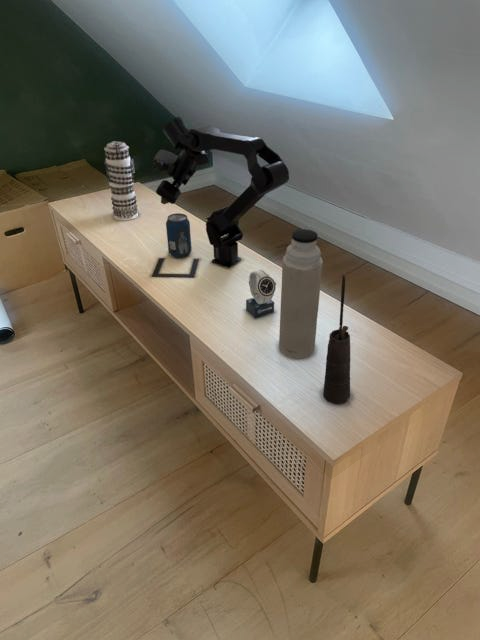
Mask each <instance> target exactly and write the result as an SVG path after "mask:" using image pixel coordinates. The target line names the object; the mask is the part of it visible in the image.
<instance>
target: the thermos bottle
mask: <svg viewBox="0 0 480 640" xmlns="http://www.w3.org/2000/svg"><path fill="white" fill-rule="evenodd" d="M291 238H292V239H291V244H289V245H288V246H287V248H286V251H285V255H284V256H283V257H282V266H281V267H282V270H281V291H280V314H279V315H280V316H279V337H278V350H279V351H280V353H281V354H282V355H283V356H285V357H287V358H289V359H293V360H294V359H295V360H302V359H307V358H309V357H311V356H312V355H313V354H314V352H315V348H316V337H317V336H316V335H317V325H318V315H319V305H320V297H321V296H320V294H321V284H322V274H323V273H322V272H323V264H324V263H323V262H324V260H323V258H322V257H321V255H322V252H321V249H320V248H319V246H317V240H318V233H317V232H316V231H315V230H312V229H307V228H305V229H303V228H302V229H296V230H294V231H293V232H292V233H291Z"/></svg>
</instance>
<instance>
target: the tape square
mask: <svg viewBox="0 0 480 640" xmlns="http://www.w3.org/2000/svg"><path fill="white" fill-rule="evenodd" d="M164 259H165V258H164V257H158V259H157V262H156V264H155V266H154V269H153V272H152V275H151V277H152V278H195V276H196V272H197V268H198V265H199V260H200V259H199V258H193V261H192V264H191V268H190V271H189V273H160V270H161V268H162V265H163V263H164Z"/></svg>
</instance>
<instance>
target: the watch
mask: <svg viewBox="0 0 480 640" xmlns="http://www.w3.org/2000/svg"><path fill="white" fill-rule="evenodd" d="M248 286H249V292H250V294H251V296H252V297H250V298H246V300H245V312H247V313H248V314H249V315H251V317H253V319H258V318H261V317H264V316H267V315H270V314H273V313H275V301H274V300H272V299H273V297H274V295H275V292H276V289H277V288H276V287H277V282H276V281H275V280H274V278H272V277H271V275H270V274H269V273H267V272H266V271H264V269H258V270H254V271H251V272H250V273H249V276H248Z"/></svg>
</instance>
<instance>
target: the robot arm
mask: <svg viewBox="0 0 480 640" xmlns="http://www.w3.org/2000/svg"><path fill="white" fill-rule="evenodd" d="M162 132H163V133H164V134H165V136H166V137H167V139H168V140H169V142H170V143H171V144H172V146H173V148H174V149H176V150H177V149H179V150H181V152H180V153H179V154H178V155H176V154H175V153H173V152H171V151H168V150H165V149H160V150H158V152H157V153H156V154H155V155H154V159H153V162H152V165H153V169H154V170H156V171H158V172H161V173H164V171H165V172H167V173H166V175H167V176H169V177H171V178H172V179H173V181H172V182H170V181H168V179H165V180H161V182H160V183H159V185H158V186H157V188H156V189H155V193H156V195H157V196H159V197H160V203H161V204H162V205H166V204H171V205H174V204H176V202H177V201H178V199H179V197H180V196H181V194H182V192H181V189H180V187H181V186H182V185H184V186H186V184H188V182H189V181H190V179H191V178H192V177H193V176H194V174H196V173H197V171H198V169H199V168H200V166H201V165H205V164H208V163H209V162H210V158H209V156H208V153H207V151H214V150H215V151H220V152H224V153H230V154H236V155H239V156H240V155H242V156H244V158H245V159H246V163H247V169H248V172H249V174H250V176H251V178H250V184H249V185H248V186H247V188H246V189H245V190H244V191H243V192H242V193H240V195H239V196H238V197H237V198H235V200H234V201H233V202H232V203H231V204H229V205H227V206H224V207H222V208H220V209H216V210H214V211H213V212H212V213H211V214H210V216H209V217H208V216H207V217H206V222H205V231H206V235H207V238H208V242H209V245H211V246H212V248H213V259H212V260H211V263H212V264H216V265H219V266H222V267H225V268H231V267H233V266H234V265H236V264H237V263H239V262H240V261H242V258H241V257H239V241H242V240H243V236H244V233H243V231H242V230H241V228H240V226H239V225H240V219H241V218H242V217H244V215H245V214H247V213H248V211H249V210H251V209H252V208H253V207H254V206H255V205H256V204H257V203H258V202H259V201H261V200H262V198H263V197H265V196H266V195H267V194H269V193H270V192H272V191H274V190H276V189H279V188H280V187H282V186H284V185H285V184H287V183H288V181H289V179H290V171H289V168H288V166H287V165H286V164H285V162H284V161H283V159H282V158H281V156H280V155H279V154H278V153H277V152H275V151H274V150H273V149H271V148H270V147H269V146H268V145H267V143H266V142H265V141H264V139H262V138H261V137H259V136H258V137H252V136H245V135H239V134H231V133H225V132H223V131H220V129H219V128H218V127H216V126H213V125H211V124H206V125H202V126H198V127H193V128H190V129H189V127H188V126H187V125H186V123H185V122H184V120H183V118H182V116H180V115H179V116H175V117H173V120H171V121H169V122H168V123H167V124H166V125H165V126H163V130H162ZM205 151H206V152H205ZM258 157H259V158H260V159H262V160H263V161H265V162H266V163H267V164H265V165H262V166H261V165H260V164H259V161H258Z"/></svg>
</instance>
